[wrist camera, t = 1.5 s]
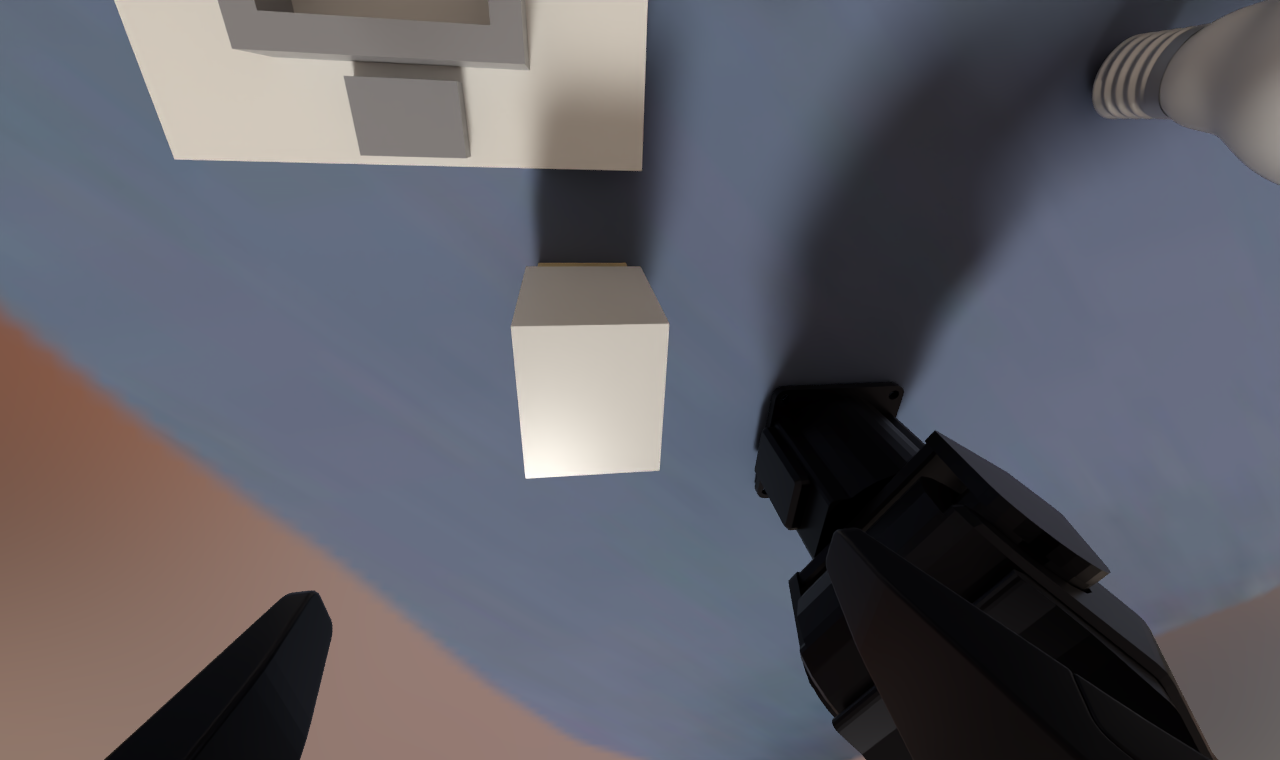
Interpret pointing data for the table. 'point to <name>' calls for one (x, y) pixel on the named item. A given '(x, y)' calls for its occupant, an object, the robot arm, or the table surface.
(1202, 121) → the lightbulb
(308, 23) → the socket plate
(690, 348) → the table surface
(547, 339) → the plug
